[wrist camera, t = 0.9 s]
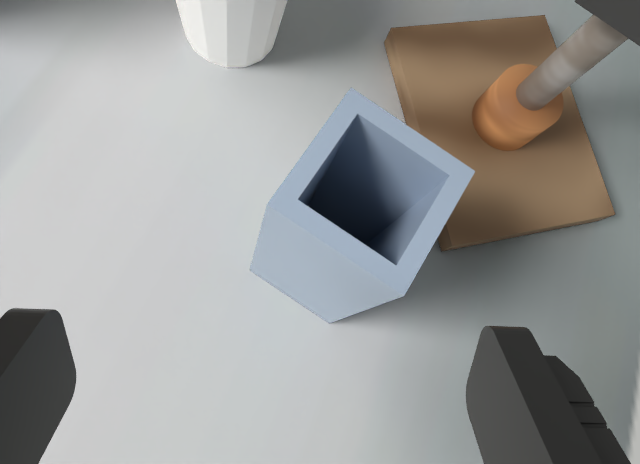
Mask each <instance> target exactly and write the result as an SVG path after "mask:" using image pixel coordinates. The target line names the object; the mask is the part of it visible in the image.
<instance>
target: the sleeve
mask: <svg viewBox="0 0 640 464" xmlns="http://www.w3.org/2000/svg"><path fill="white" fill-rule="evenodd" d="M474 173H475V171H474V170H473V169H471V168H470V167H468V166H467V165H465V164H464V163H462V162H461V161H459V160H458V159H456V158H455V157H453V156H452V155H451V154H449V153H448V152H446V151H445V150H443V149H442V148H440V147H439V146H437V145H436V144H434V143H433V142H431V141H430V140H428V139H427V138H425V137H424V136H422V135H421V134H419V133H418V132H416V131H415V130H413V129H412V128H410V127H409V126H407V125H406V124H405V123H403V122H402V121H400V120H399V119H397V118H396V117H394V116H393V115H391V114H390V113H388V112H387V111H385V110H384V109H382V108H381V107H379V106H378V105H376V104H375V103H373V102H372V101H370V100H369V99H367V98H366V97H364V96H363V95H362V94H360V93H359V92H357V91H356V90H354V89H353V88H350V90H349V91H348V92H347V94H346V95H345V97H344V98H343V99H342V101H341V102H340V104H339V105H338V106H337V108H336V109H335V111H334V112H333V113H332V115H331V116H330V117H329V119H328V120H327V122H326V123H325V124H324V126H323V127H322V129H321V130H320V131H319V133H318V134H317V136H316V137H315V138H314V140H313V141H312V142H311V144H310V145H309V147H308V148H307V149H306V151H305V152H304V154H303V155H302V156H301V158H300V159H299V161H298V162H297V163H296V165H295V166H294V168H293V169H292V170H291V172H290V173H289V174H288V176H287V177H286V179H285V180H284V181H283V183H282V184H281V186H280V187H279V188H278V190H277V191H276V193H275V194H274V195H273V197H272V198H271V200H270V201H269V202H268V204H267V206H266V210H265V214H264V218H263V222H262V225H261V229H260V233H259V237H258V241H257V244H256V248H255V252H254V256H253V260H252V263H251V267H250V271H252V272H253V273H255V274H256V275H258V276H259V277H261V278H262V279H264V280H265V281H267V282H268V283H270V284H271V285H273V286H274V287H276V288H277V289H279V290H280V291H282V292H283V293H285V294H286V295H288V296H289V297H291V298H292V299H294V300H295V301H297V302H298V303H300V304H301V305H303V306H304V307H306V308H307V309H309V310H310V311H312V312H313V313H315V314H316V315H318V316H319V317H321V318H322V319H324V320H325V321H327V322H328V323H332V322H335V321H337V320H340V319H343V318H346V317H348V316H351V315H354V314H356V313H359V312H362V311H365V310H367V309H370V308H373V307H375V306H378V305H381V304H384V303H386V302H389V301H392V300H395V299H397V298H400V297H403V296H404V295H405V294H406V292H407V290H408V288H409V287H410V285H411V283H412V281H413V280H414V278H415V276H416V274H417V273H418V271H419V269H420V267H421V266H422V264H423V262H424V260H425V259H426V257H427V255H428V253H429V252H430V250H431V248H432V246H433V245H434V243H435V241H436V239H437V238H438V236H439V234H440V232H441V231H442V229H443V227H444V225H445V224H446V222H447V220H448V218H449V217H450V215H451V213H452V211H453V210H454V208H455V206H456V204H457V203H458V201H459V199H460V197H461V196H462V194H463V192H464V190H465V189H466V187H467V185H468V183H469V182H470V180H471V178H472V176H473V175H474Z"/></svg>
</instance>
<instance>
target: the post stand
mask: <svg viewBox="0 0 640 464" xmlns="http://www.w3.org/2000/svg"><path fill="white" fill-rule="evenodd" d="M627 39H628V38H627V37H626V36H624V35H623V34H621V33H620V32H618V31H617V30H615V29H614V28H613V27H611V26H610V25H608V24H607V23H605V22H604V21H602V20H601V19H599V18H598V17H596V16H595V15H592V16H591V17H590V18H589V19H588V20H587V21H586V22H585V23H584V24H583V25H582V26H581V27H580V28H579V29H578V30H577V31H575V32H574V33H573V34H572V35H571V36H570V37H569V38H568V39H567V40H566V41H565V42H564V43H563V44H562V45H561V46H560V47H559V48H557V49H556V46H555V43H554V40H553V37H552V34H551V32H550V29H549V26H548V23H547V20H546V18H545V15H541V16H528V17H516V18H504V19H492V20H480V21H468V22H456V23H444V24H432V25H420V26H408V27H396V28H391V29H390V31H389V33H388V35H387V37H386V39H385V41H384V45H385V48H386V52H387V56H388V59H389V63H390V67H391V70H392V74H393V77H394V81H395V85H396V88H397V92H398V96H399V99H400V103H401V107H402V110H403V114H404V117H405V121H406V125H407V126H409V127H410V128H412V129H413V130H415V131H416V132H418V133H419V134H421V135H422V136H424V137H425V138H427V139H428V140H430V141H431V142H433V143H434V144H436V145H437V146H439V147H440V148H442V149H443V150H445V151H446V152H448V153H449V154H451V155H452V156H453V157H455V158H456V159H458V160H459V161H461V162H462V163H464V164H465V165H467V166H468V167H470V168H471V169H473V170H474V171H475V173H474V175H473V176H472V178H471V180H470V182H469V183H468V185H467V187H466V189H465V190H464V192H463V194H462V196H461V197H460V199H459V201H458V203H457V204H456V206H455V208H454V210H453V211H452V213H451V215H450V217H449V218H448V220H447V222H446V224H445V225H444V227H443V229H442V231H441V232H440V234H439V236H438V241H439V245H440V248H441V252H442V251H447V250H452V249H457V248H462V247H467V246H473V245H478V244H483V243H488V242H493V241H498V240H503V239H508V238H513V237H519V236H524V235H529V234H534V233H539V232H544V231H549V230H554V229H560V228H565V227H570V226H575V225H580V224H585V223H590V222H595V221H599V220H602V219H605V218H607V217H610V216H613V215H615V212H614V209H613V206H612V204H611V201H610V198H609V195H608V192H607V189H606V187H605V184H604V181H603V178H602V175H601V173H600V170H599V167H598V164H597V161H596V158H595V156H594V153H593V150H592V147H591V144H590V142H589V139H588V136H587V133H586V130H585V127H584V125H583V122H582V119H581V116H580V113H579V111H578V108H577V105H576V102H575V99H574V96H573V94H572V91H571V88H570V85H571V84H572V83H573V82H575V81H576V80H577V79H578V78H580V77H581V76H582V75H583V74H585V73H586V72H587V71H588V70H590V69H591V68H592V67H593V66H595V65H596V64H597V63H598V62H600V61H601V60H602V59H603V58H605V57H606V56H607V55H608V54H610V53H611V52H612V51H613V50H615V49H616V48H617V47H618V46H620V45H621V44H622V43H623V42H625V41H626V40H627Z"/></svg>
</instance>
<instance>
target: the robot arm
mask: <svg viewBox="0 0 640 464" xmlns="http://www.w3.org/2000/svg"><path fill="white" fill-rule="evenodd" d="M75 384H76V369H75V364H74V361H73V357H72V353H71V350H70V346H69V342H68V339H67V335H66V331H65V327H64V324H63V320H62V317H61V315H60V313H59V312H58V311H56V310H49V309H20V308H13V309H10V310H8V311H7V312H6V313H5V314H4V315H3V316H2V317H1V319H0V464H38V463H39V461H40V459H41V457H42V455H43V453H44V452H45V450H46V448H47V446H48V444H49V442H50V440H51V438H52V436H53V434H54V433H55V431H56V429H57V427H58V425H59V423H60V421H61V419H62V417H63V415H64V414H65V412H66V410H67V408H68V406H69V404H70V402H71V400H72V397H73V394H74V390H75ZM466 403H467V410H468V414H469V418H470V421H471V424H472V427H473V430H474V434H475V437H476V440H477V443H478V446H479V449H480V452H481V455H482V459H483V462H484V464H631V463H630V461H629V460H628V458H627V456H626V455H625V453H624V451H623V450H622V448H621V446H620V445H619V443H618V441H617V440H616V438H615V436H614V435H613V433H612V431H611V430H610V429H607V426H606V421H605V420H604V418H603V416H602V415H601V413H600V411H599V410H598V408H597V407H594V401H593V400H592V398H591V396H590V394H589V393H588V391H587V389H586V388H585V386H584V384H583V383H582V381H581V379H580V378H579V377H578V376H577V375H576V374H575V373H574V372H573V371H572V370H571V369H570V368H568V367H567V366H566V365H565V364H564V363H563V362H562V361H561V360H560V359H559V358H557V357H556V356H544V355H543V353H542V351H541V350H540V348H539V346H538V344H537V342H536V340H535V339H534V337H533V335H532V333H531V332H530V330H529V329H527V328H525V327H503V326H485V327H484V328H483V330H482V332H481V334H480V338H479V341H478V345H477V349H476V352H475V356H474V359H473V363H472V366H471V370H470V373H469V377H468V381H467V386H466Z"/></svg>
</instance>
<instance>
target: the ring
mask: <svg viewBox="0 0 640 464" xmlns="http://www.w3.org/2000/svg"><path fill="white" fill-rule="evenodd" d="M574 2H576V3H577V4H579V5H580V6H582V7H583V8H585V9H586V10H588V11H589V12H591V13H592V14H593V15H595V16H596V17H598V18H599V19H601V20H602V21H604V22H605V23H607V24H608V25H610V26H611V27H613V28H614V29H615V30H617V31H618V32H620V33H621V34H623V35H624V36H626V37H627V38H629V39H630V40H632V41H633V42H635V43H636V44H637V45H639V46H640V0H575V1H574Z"/></svg>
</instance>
